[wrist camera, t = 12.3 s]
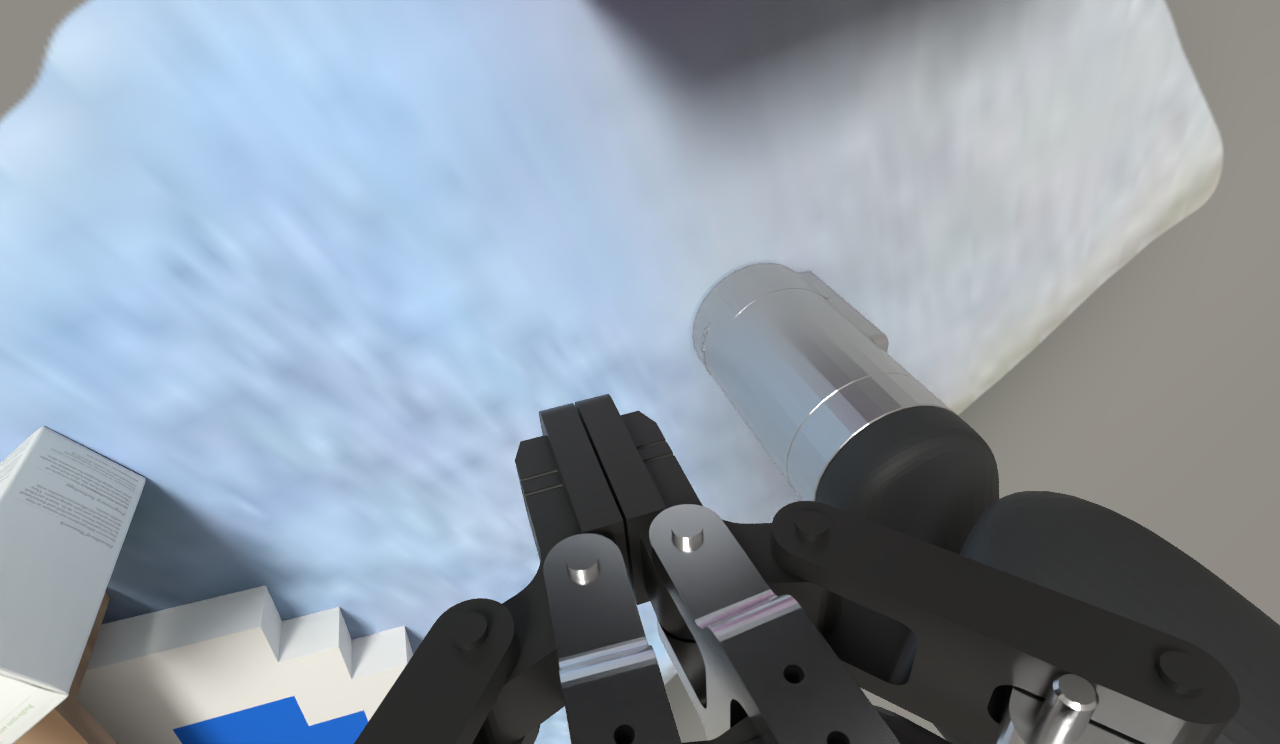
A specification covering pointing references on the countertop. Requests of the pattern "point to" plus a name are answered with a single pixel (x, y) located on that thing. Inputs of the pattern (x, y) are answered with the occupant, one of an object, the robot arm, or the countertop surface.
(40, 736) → the walnut shelf
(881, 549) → the robot arm
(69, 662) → the skincare box
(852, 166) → the countertop surface
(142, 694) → the pixel art tile
